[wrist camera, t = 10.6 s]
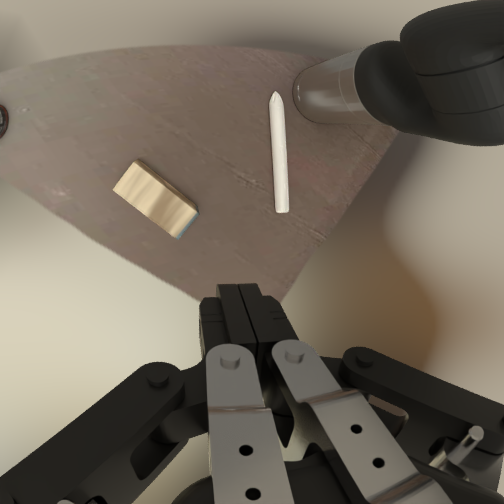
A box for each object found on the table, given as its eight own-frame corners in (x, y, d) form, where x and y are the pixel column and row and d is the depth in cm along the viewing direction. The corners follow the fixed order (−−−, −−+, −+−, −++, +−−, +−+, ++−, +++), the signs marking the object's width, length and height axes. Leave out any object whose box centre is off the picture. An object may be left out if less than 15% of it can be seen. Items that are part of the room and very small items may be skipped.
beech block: (199, 214, 41) (133, 161, 36) (177, 239, 41) (112, 189, 37) (197, 206, 45) (138, 159, 40) (177, 229, 45) (118, 184, 41)
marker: (266, 91, 41) (270, 89, 39) (280, 91, 41) (285, 89, 39) (273, 210, 48) (278, 214, 46) (286, 208, 48) (291, 212, 46)
